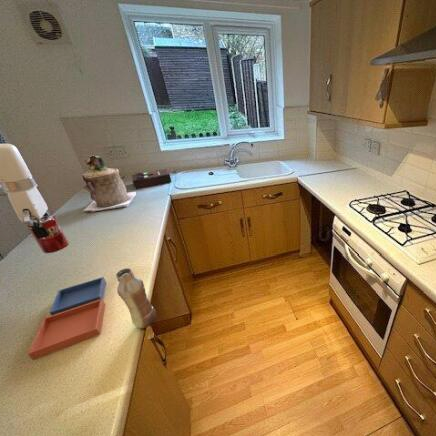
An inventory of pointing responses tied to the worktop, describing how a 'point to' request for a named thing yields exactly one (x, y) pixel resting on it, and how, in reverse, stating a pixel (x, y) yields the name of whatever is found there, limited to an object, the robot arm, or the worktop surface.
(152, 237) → the worktop surface
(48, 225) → the soda can
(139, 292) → the plastic bottle
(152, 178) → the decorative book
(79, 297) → the blue tray
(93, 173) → the cookie jar
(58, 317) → the terracotta tray
